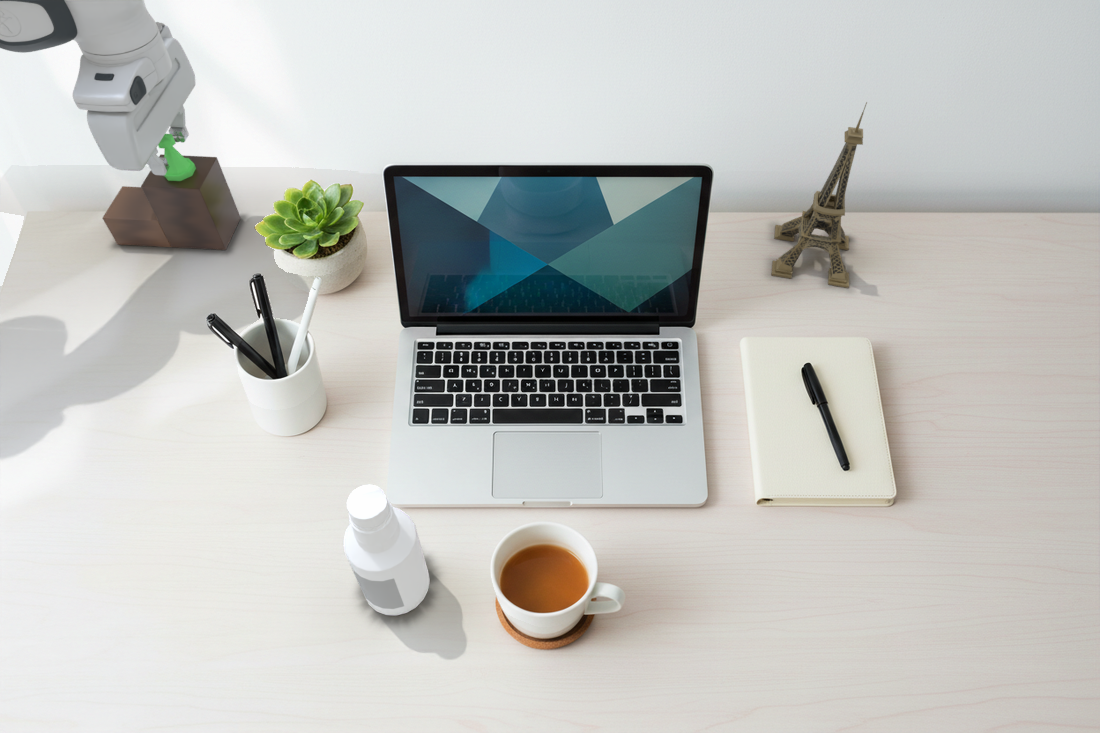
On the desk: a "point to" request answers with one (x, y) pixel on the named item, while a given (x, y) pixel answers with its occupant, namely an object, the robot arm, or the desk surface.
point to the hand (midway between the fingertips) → (172, 155)
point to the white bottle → (384, 552)
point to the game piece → (175, 161)
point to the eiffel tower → (823, 219)
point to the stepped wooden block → (176, 210)
